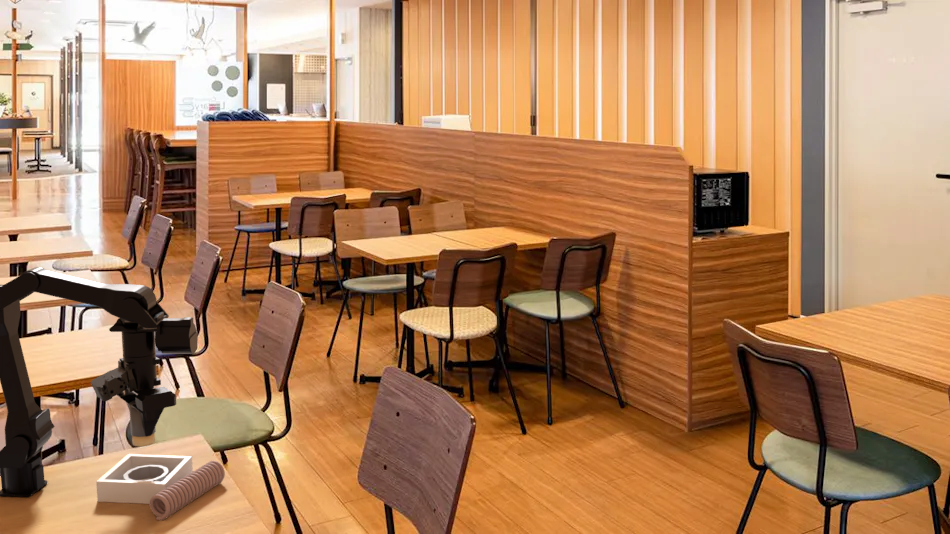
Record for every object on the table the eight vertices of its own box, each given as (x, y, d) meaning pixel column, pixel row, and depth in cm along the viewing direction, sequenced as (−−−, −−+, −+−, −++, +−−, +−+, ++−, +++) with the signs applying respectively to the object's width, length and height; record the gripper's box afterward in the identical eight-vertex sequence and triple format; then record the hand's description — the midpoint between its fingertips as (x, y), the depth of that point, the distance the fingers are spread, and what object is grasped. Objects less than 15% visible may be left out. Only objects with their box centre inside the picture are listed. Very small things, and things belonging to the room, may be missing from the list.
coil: (167, 500, 150) (228, 462, 167) (146, 493, 151) (208, 456, 168) (166, 524, 151) (227, 484, 168) (145, 517, 152) (207, 478, 169)
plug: (127, 446, 160) (125, 405, 159) (137, 437, 165) (135, 398, 163) (150, 447, 160) (148, 406, 159) (159, 438, 164) (158, 399, 163)
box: (97, 501, 158) (96, 481, 157) (129, 472, 171) (128, 453, 170) (165, 504, 157) (164, 484, 157) (192, 475, 170) (191, 456, 169)
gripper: (78, 349, 161) (83, 428, 164) (112, 373, 147) (117, 458, 150) (137, 340, 168) (141, 415, 171) (175, 361, 154) (179, 443, 157)
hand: (143, 432), depth 162 cm, fingers closed on plug, 4 cm apart
